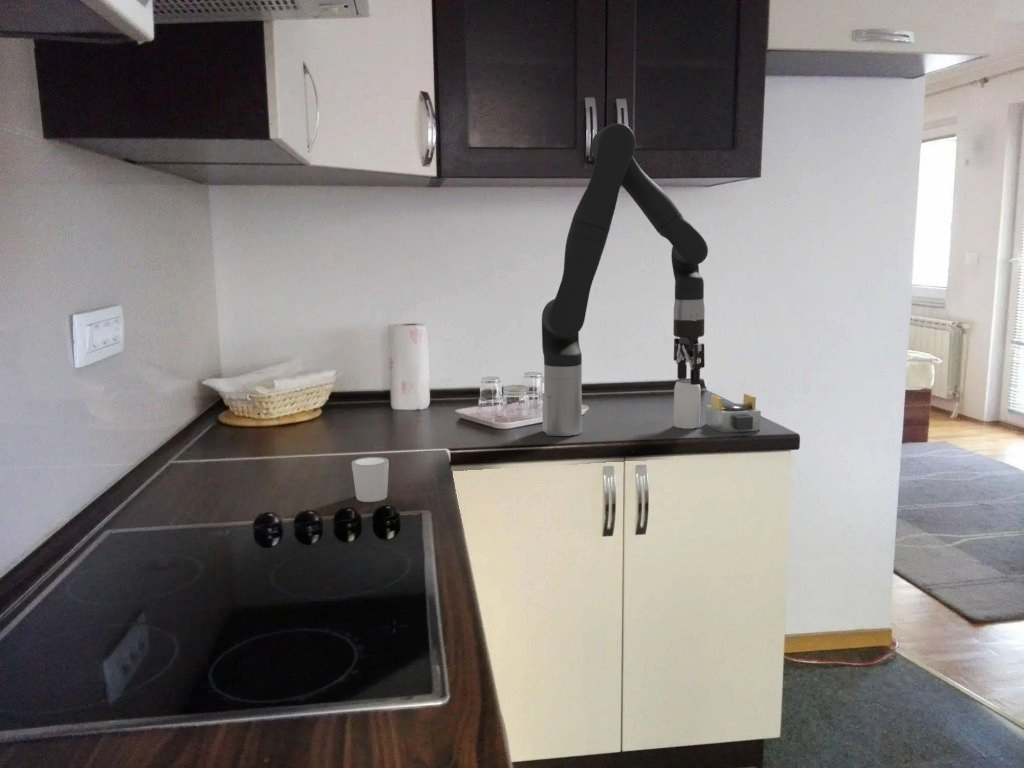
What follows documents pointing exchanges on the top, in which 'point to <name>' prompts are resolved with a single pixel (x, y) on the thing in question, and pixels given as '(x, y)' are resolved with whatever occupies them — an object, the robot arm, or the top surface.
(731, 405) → the motor housing
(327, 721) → the top surface
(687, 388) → the can
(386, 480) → the light grey cup
